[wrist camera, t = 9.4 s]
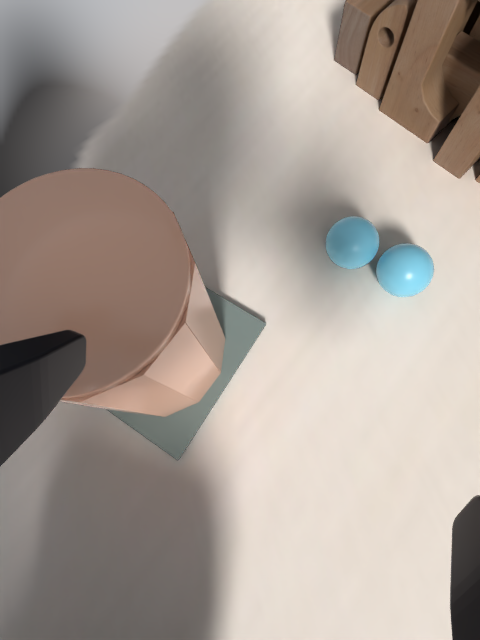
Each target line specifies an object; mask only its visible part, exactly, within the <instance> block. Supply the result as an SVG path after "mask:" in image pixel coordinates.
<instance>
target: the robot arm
mask: <svg viewBox="0 0 480 640" xmlns="http://www.w3.org/2000/svg"><path fill="white" fill-rule="evenodd" d="M85 364H86V337H85V336H84V335H83V334H80V333H78V332H75V331H73V330H63V331H59V332H55V333H50V334H46V335H41V336H37V337H33V338H28V339H24V340H20V341H15V342H11V343H6V344H2V345H0V466H1V465H2V464H3V463H4V462H5V461H6V460H7V459H8V458H9V457H10V456H11V455H12V454H13V453H14V452H15V451H16V450H17V449H18V448H19V446H20V445H21V444H22V443H23V442H24V441H25V440H26V439H27V438H28V437H29V436H30V435H31V434H32V433H33V432H34V431H35V430H36V429H37V428H38V427H39V425H40V424H41V423H42V422H43V421H44V420H45V419H46V417H47V416H48V415H49V414H50V413H51V411H52V410H53V409H54V407H55V406H56V405H57V404H58V402H59V401H60V400H61V398H62V397H63V396H64V395H65V393H66V392H67V391H68V389H69V388H70V387H71V386H72V384H73V383H74V382H75V380H76V379H77V378H78V377H79V375H80V374H81V373H82V371H83V369H84V367H85ZM450 609H451V625H452V638H453V640H480V495H477V496H475V497H473V498H472V499H471V501H470V502H469V503H468V504H467V505H466V506H465V507H464V508H463V510H462V511H461V512H460V513H459V514H458V515H457V517H456V518H455V520H454V523H453V528H452V556H451V587H450Z"/></svg>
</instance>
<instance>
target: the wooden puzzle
mask: <svg viewBox="0 0 480 640" xmlns="http://www.w3.org/2000/svg"><path fill="white" fill-rule="evenodd" d="M334 60H335V61H336V62H337V63H339V64H340V65H342V66H343V67H345V68H346V69H348V70H349V71H351V72H352V73H354V74H357V73H358V72H359V75H358V79H357V83H356V85H357V86H358V87H360V88H361V89H363V90H364V91H365V92H367V93H368V94H370V95H371V96H373V97H374V98H376V99H377V100H380V99H381V98H382V97H383V100H382V102H381V105H380V108H379V110H380V111H381V112H382V113H384V114H385V115H387V116H388V117H390V118H391V119H393V120H394V121H396V122H397V123H398V124H400V125H401V126H403V127H404V128H406V129H407V130H409V131H410V132H411V133H413V134H414V135H416V136H417V137H419V138H420V139H422V140H423V141H425V142H426V143H429V142H430V141H431V140H432V139H433V138H434V137H435V136H436V135H437V134H438V133H439V132H440V131H441V130H442V129H443V128H444V127H445V126H446V125H448V124H449V123H450V122H451V121H452V120H453V119H454V118H456V117H459V116H460V118H459V119H458V121H457V123H456V124H455V126H454V127H453V129H452V131H451V132H450V134H449V135H448V137H447V139H446V140H445V142H444V144H443V145H442V147H441V148H440V150H439V152H438V153H437V155H436V156H435V158H434V160H433V161H434V162H435V163H437V164H438V165H440V166H441V167H443V168H444V169H445V170H447V171H448V172H450V173H451V174H453V175H454V176H455V177H457V178H459V179H460V178H461V177H462V176H463V175H464V174H465V173H466V172H467V171H468V170H469V169H470V168H471V167H472V166H473V165H474V164H475V163H476V161H477V160H478V159H479V158H480V0H346V1H345V5H344V10H343V16H342V21H341V26H340V32H339V37H338V42H337V48H336V53H335V58H334ZM476 181H477V182H478V183H480V174H479V176H478V177H477V178H476Z"/></svg>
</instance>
